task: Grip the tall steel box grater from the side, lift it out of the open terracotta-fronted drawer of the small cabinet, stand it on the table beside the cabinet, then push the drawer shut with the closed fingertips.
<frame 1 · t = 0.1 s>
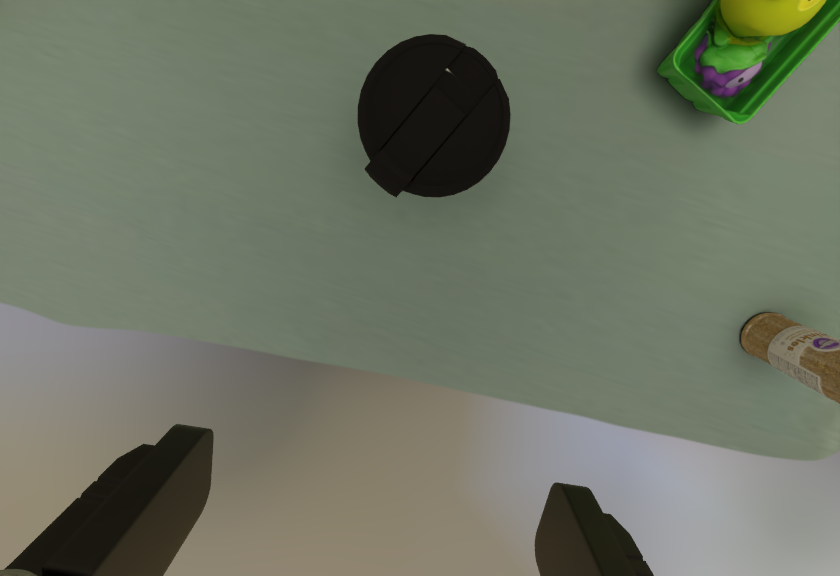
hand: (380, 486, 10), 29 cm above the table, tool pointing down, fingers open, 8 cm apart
sprinkles bottle: (760, 332, 41), on the table
travel mug: (423, 144, 36), on the table
fruit basket: (711, 38, 34), on the table
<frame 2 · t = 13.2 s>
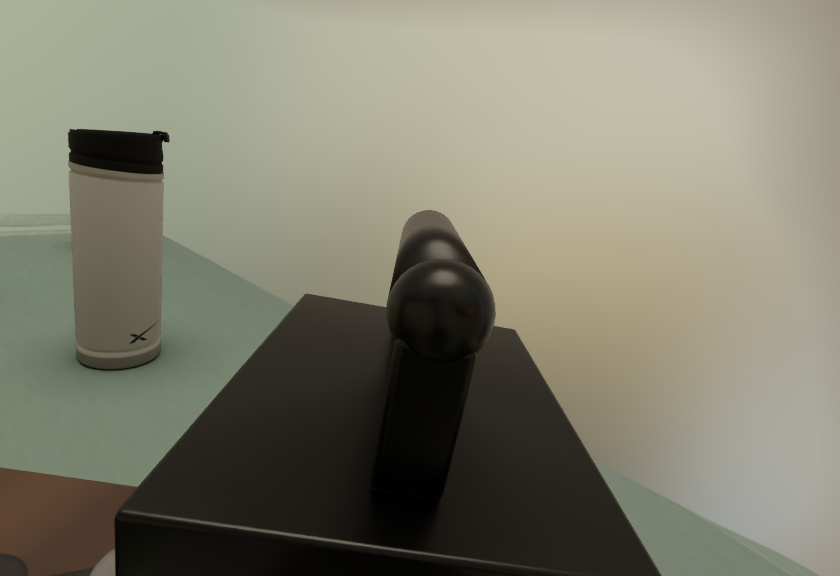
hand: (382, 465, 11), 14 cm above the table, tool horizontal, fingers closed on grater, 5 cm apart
travel mug: (122, 355, 39), on the table
when the fingers open (12 cm above the table, at t = 22.8 s): grater stays where it is, on the table.
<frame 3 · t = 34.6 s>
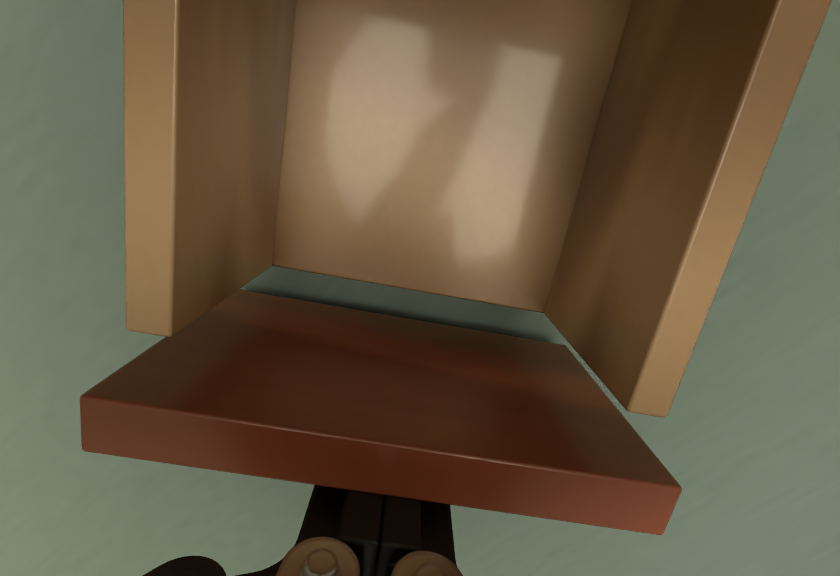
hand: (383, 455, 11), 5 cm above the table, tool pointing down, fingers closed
drawer: (433, 189, 10), point 4 cm above the table, slide at 10.1 cm, touching gripper
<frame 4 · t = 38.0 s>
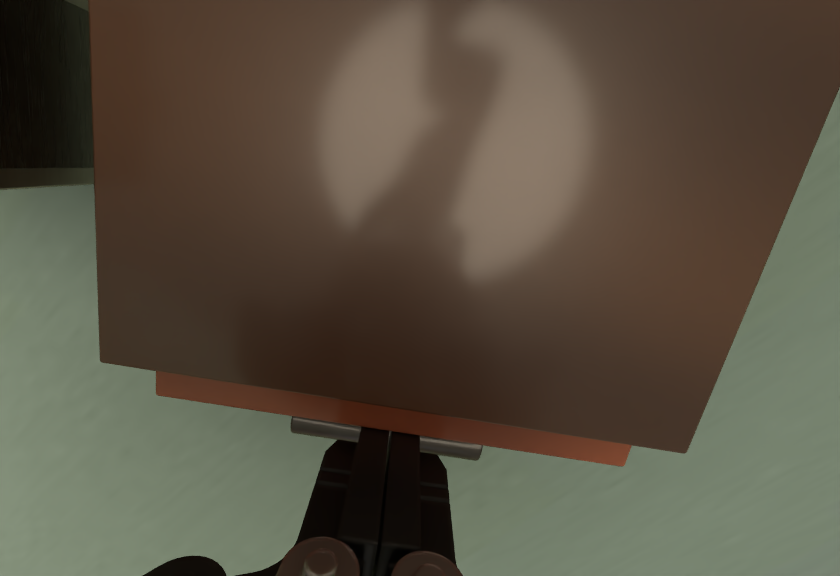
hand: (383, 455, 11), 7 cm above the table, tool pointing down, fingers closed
grater: (73, 91, 15), on the table
cabinet: (451, 70, 15), on the table
drawer: (435, 185, 12), point 4 cm above the table, slide at 0.0 cm, touching cabinet, gripper
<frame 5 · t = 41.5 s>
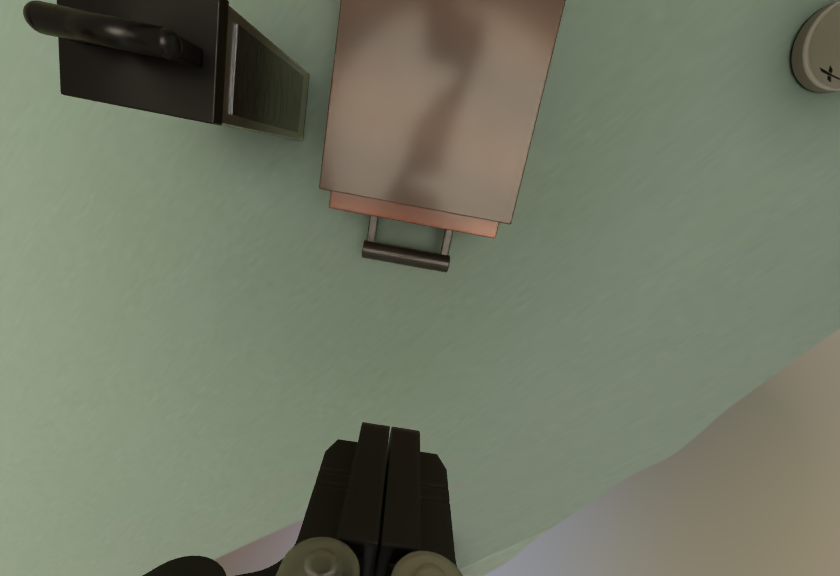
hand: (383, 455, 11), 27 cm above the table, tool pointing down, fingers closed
travel mug: (827, 52, 33), on the table
grater: (264, 99, 33), on the table
cabinet: (435, 91, 33), on the table
drawer: (427, 138, 30), point 4 cm above the table, slide at 0.0 cm, touching cabinet
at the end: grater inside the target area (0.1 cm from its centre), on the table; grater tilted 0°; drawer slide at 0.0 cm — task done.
